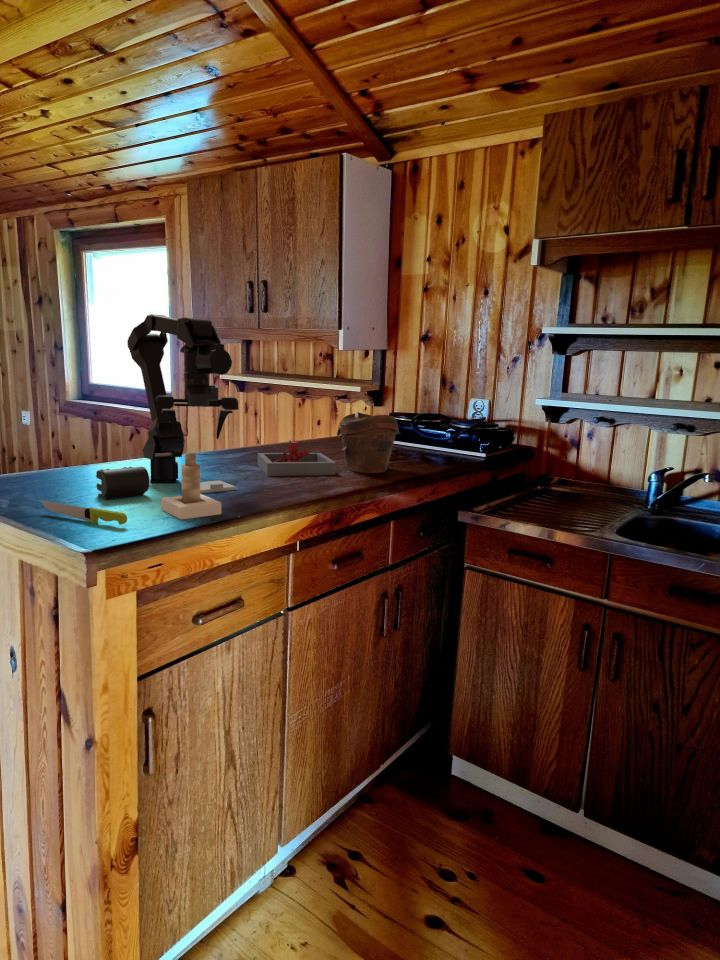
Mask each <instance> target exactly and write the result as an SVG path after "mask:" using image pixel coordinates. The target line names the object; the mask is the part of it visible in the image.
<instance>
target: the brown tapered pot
mask: <svg viewBox="0 0 720 960" xmlns="http://www.w3.org/2000/svg"><path fill="white" fill-rule="evenodd" d="M398 434H400V430H399V427H398V420H397V419H396V418H395V417H394V416H392V415H389V414H375V415H371V414H367V413H361V412H359V411H358V412H356V413H351V414H350V413H349V414H348V415H345V416H344V417H343V418H342V419H341V421H339V424H338V426H337V433H336V438H338V437H340V435H341V442H342V449H341V451H342V452H343V455H344V460H345V467H346V469H347V470H348V471H351V472H355V473H363V474H364V473H365V474H375V473H377V474H379V473H383V472H386V471H387V470H388V465H389V463H390V460H391V459H390V458H391V455H392V451H393V447H394V443H395V439H396V435H398Z"/></svg>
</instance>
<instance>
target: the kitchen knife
mask: <svg viewBox="0 0 720 960" xmlns="http://www.w3.org/2000/svg"><path fill="white" fill-rule="evenodd" d="M39 501H40V502H41V504H42V505H43V507H45V508H46V509H47V510H49V511H50V512H53V513H57V514H61V515H62V516H63V515H64V516H67V517H71V518H75V519H77V520H81V521H85V522H90V523H91V524H97V523H99V519H100V520H101V521H104V522H113V521H115V522H117V523H118V525H121V526H122V525H124V524H126V523H127V521H128V516H127V514H126V513H124V512H120V511H114V510H108V509H103V508H97V507H96V508H95V507H82V506H78V505H71V504H65V503H59V502H53V501H48V500H42V499H40V500H39Z"/></svg>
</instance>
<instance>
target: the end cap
mask: <svg viewBox="0 0 720 960" xmlns="http://www.w3.org/2000/svg"><path fill="white" fill-rule="evenodd" d="M95 473H96V475H95V477H96V479H99V480H100V481H101V482H100V483H99V482H98V483H96V485H95V487H96V490H97V491H99V492H101V493H97V497H98V498H101V500H109V499H110V500H111V499H112V500H113V499H119V498H129V497H134V496H135V497H136V496H143V495H145V493H147V492H148V490H149V488H150V485H151V482H150V475H149V474H150V473H149V472H148V469H147V467H144V466H135V467H134V466H129V467H121V468H113V469H110V468H106V469H103V468H101V469H98V470H97V471H96V472H95Z"/></svg>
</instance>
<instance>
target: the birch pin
mask: <svg viewBox="0 0 720 960" xmlns="http://www.w3.org/2000/svg"><path fill="white" fill-rule="evenodd" d="M184 454H185V455H184V464H181V469H180V470H181V474H180V475H181V496H182V503H184V504H188V503H197V502H200V482H201V465H200V464H197V453H195V452H186V453H184Z"/></svg>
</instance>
